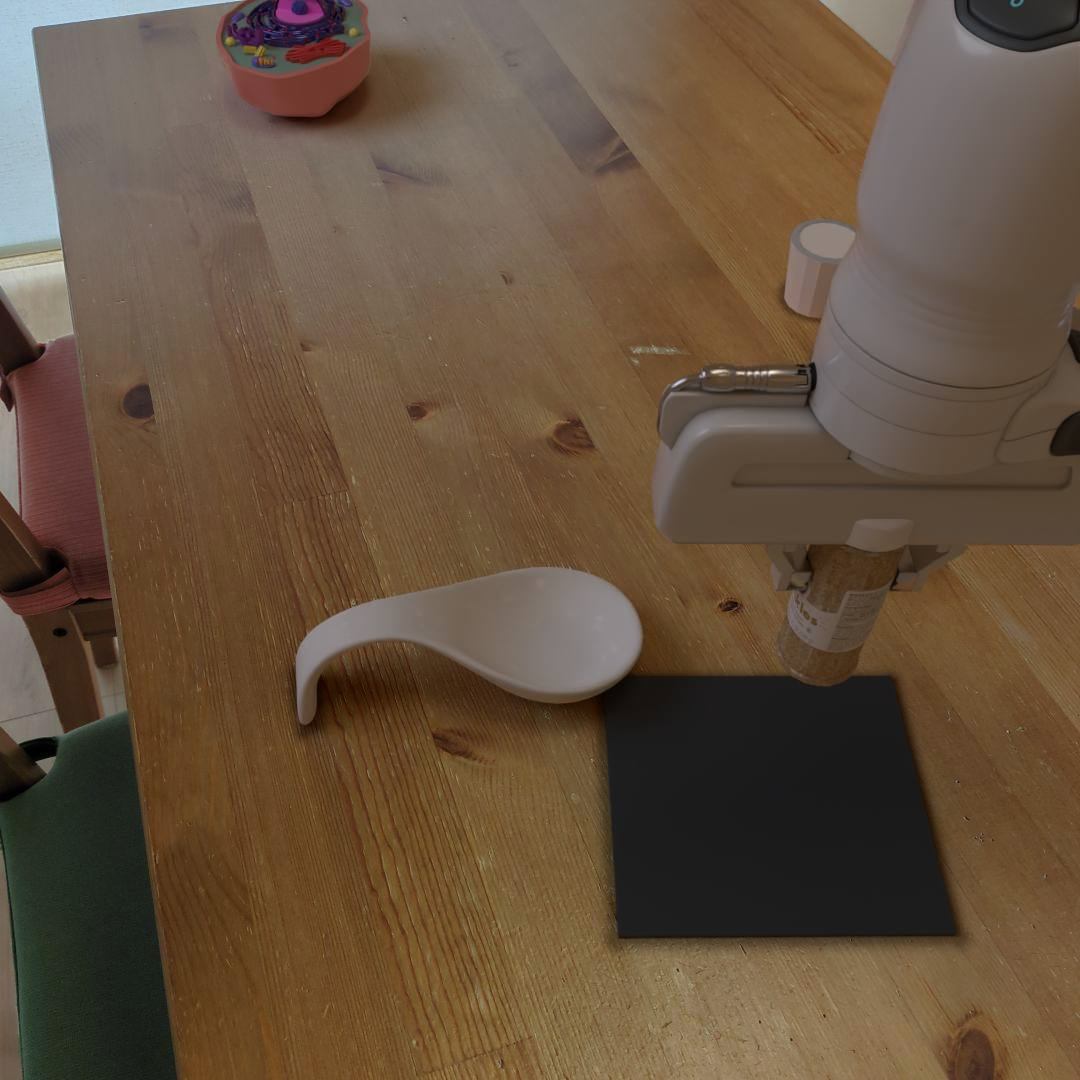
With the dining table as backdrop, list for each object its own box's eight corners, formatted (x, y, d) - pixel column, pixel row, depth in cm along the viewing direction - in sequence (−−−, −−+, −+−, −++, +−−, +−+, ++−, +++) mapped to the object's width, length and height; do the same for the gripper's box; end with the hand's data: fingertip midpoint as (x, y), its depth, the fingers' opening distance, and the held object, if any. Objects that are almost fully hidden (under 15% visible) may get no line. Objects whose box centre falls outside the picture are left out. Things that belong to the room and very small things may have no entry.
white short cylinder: (842, 280, 107) (859, 217, 102) (857, 326, 102) (876, 262, 97) (771, 280, 107) (785, 217, 101) (783, 326, 102) (798, 263, 97)
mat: (888, 681, 78) (891, 675, 77) (953, 938, 66) (957, 933, 65) (602, 682, 77) (603, 675, 77) (617, 941, 66) (618, 936, 65)
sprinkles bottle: (760, 629, 61) (810, 459, 51) (837, 613, 62) (901, 442, 52) (793, 698, 58) (853, 533, 48) (873, 681, 59) (948, 515, 49)
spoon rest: (617, 590, 82) (620, 518, 78) (661, 714, 74) (668, 642, 69) (295, 642, 79) (277, 571, 74) (303, 778, 71) (283, 708, 66)
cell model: (199, 136, 121) (175, 33, 113) (267, 50, 134) (250, -49, 125) (347, 157, 119) (334, 53, 110) (402, 68, 132) (394, -31, 123)
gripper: (671, 422, 42) (639, 632, 53) (1204, 425, 43) (1065, 633, 53) (658, 315, 46) (630, 531, 57) (1144, 320, 47) (1027, 533, 57)
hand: (844, 580), depth 55 cm, fingers closed on sprinkles bottle, 4 cm apart
